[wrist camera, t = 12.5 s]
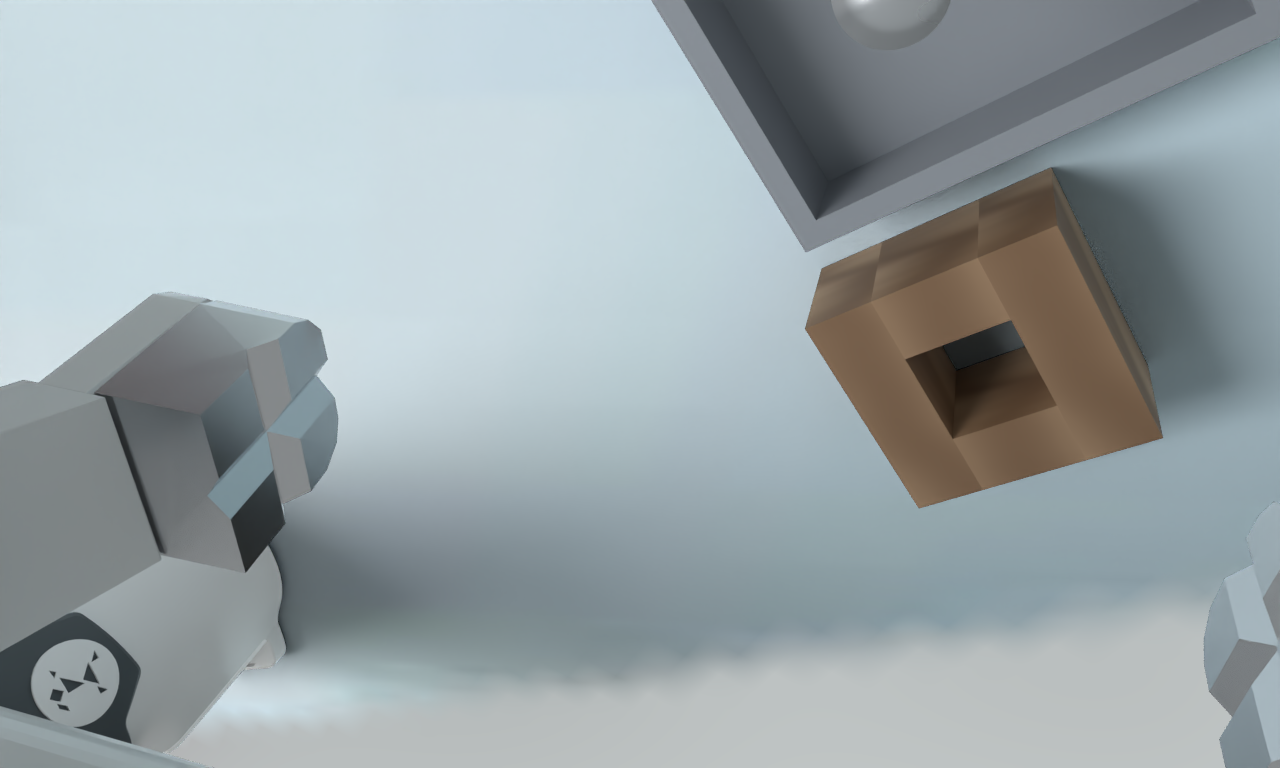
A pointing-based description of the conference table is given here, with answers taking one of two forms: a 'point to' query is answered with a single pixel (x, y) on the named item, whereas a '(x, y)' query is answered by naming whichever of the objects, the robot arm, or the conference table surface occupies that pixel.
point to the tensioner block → (1004, 385)
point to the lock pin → (889, 20)
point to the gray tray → (935, 88)
